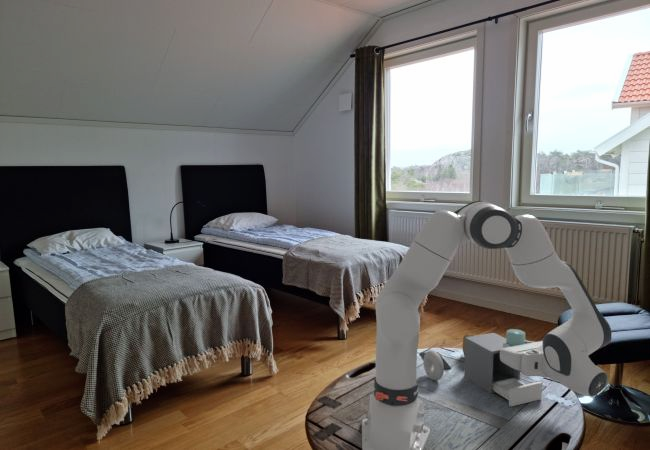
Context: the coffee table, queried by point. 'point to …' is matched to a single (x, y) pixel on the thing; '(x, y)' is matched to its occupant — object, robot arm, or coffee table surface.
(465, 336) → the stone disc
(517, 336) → the sage green cylinder
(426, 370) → the donut
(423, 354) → the smartphone
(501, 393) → the tray
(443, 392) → the coffee table surface
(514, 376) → the housing
